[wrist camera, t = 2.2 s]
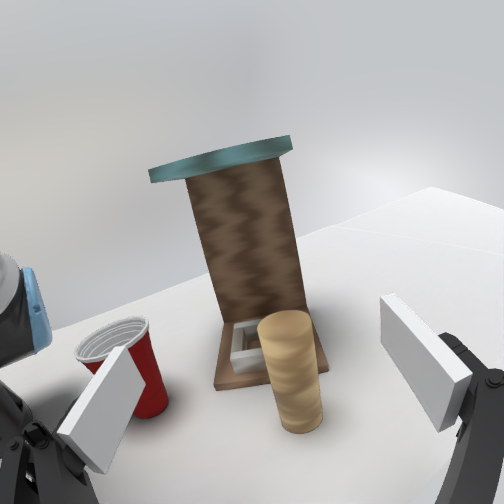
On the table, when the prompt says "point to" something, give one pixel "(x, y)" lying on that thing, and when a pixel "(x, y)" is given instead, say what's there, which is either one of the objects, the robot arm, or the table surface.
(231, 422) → the table surface
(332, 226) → the table surface
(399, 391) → the table surface
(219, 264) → the awning stand
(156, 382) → the plastic cup
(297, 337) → the peg
